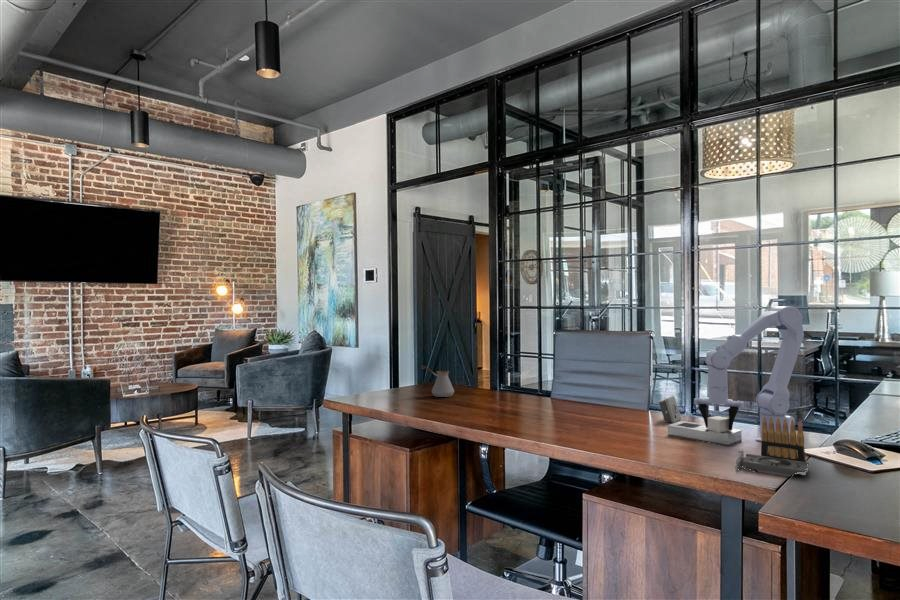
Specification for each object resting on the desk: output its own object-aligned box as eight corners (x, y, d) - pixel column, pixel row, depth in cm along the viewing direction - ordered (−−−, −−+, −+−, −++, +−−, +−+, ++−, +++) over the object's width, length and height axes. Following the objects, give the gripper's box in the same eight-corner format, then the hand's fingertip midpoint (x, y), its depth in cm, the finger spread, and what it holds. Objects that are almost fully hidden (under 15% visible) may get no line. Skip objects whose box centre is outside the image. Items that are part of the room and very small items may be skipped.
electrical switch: (674, 423, 203) (671, 399, 204) (660, 423, 206) (657, 399, 207) (681, 419, 211) (678, 395, 211) (668, 419, 214) (665, 395, 214)
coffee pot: (459, 396, 272) (458, 367, 272) (442, 399, 264) (441, 369, 264) (431, 392, 288) (430, 364, 288) (414, 395, 280) (414, 366, 280)
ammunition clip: (760, 458, 156) (759, 416, 157) (762, 456, 158) (761, 415, 158) (804, 464, 150) (803, 421, 150) (805, 463, 151) (804, 420, 151)
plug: (730, 434, 176) (729, 418, 176) (719, 436, 174) (719, 420, 174) (718, 431, 180) (717, 415, 180) (707, 433, 178) (707, 417, 178)
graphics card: (731, 460, 145) (739, 449, 154) (731, 474, 145) (739, 462, 154) (806, 471, 134) (809, 459, 144) (806, 486, 135) (810, 473, 144)
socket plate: (741, 440, 176) (741, 430, 176) (728, 446, 170) (728, 435, 170) (682, 430, 192) (681, 420, 192) (667, 435, 185) (667, 425, 185)
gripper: (744, 386, 176) (745, 428, 176) (696, 383, 185) (697, 423, 184) (741, 389, 171) (742, 432, 170) (692, 386, 179) (693, 427, 179)
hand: (718, 428), depth 177 cm, fingers closed on plug, 6 cm apart
